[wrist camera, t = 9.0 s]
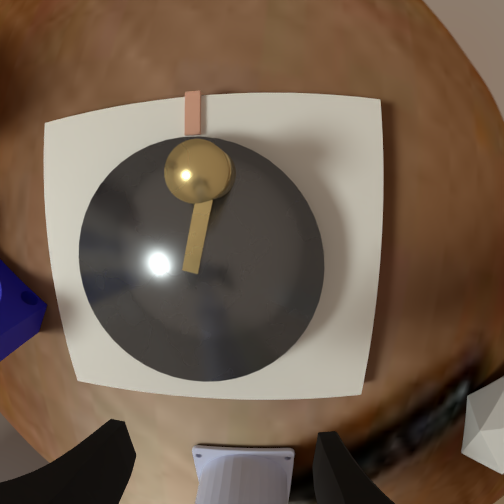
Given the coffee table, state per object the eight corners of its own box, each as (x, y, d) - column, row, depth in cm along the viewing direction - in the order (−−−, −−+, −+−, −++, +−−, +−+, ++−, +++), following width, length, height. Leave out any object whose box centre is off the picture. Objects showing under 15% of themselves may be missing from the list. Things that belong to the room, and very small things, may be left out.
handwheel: (283, 393, 17) (287, 438, 14) (82, 338, 17) (49, 369, 13) (349, 172, 15) (377, 169, 11) (105, 123, 15) (64, 111, 11)
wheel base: (356, 384, 19) (362, 399, 18) (84, 372, 20) (74, 384, 19) (373, 101, 16) (383, 93, 14) (55, 122, 16) (40, 119, 15)
